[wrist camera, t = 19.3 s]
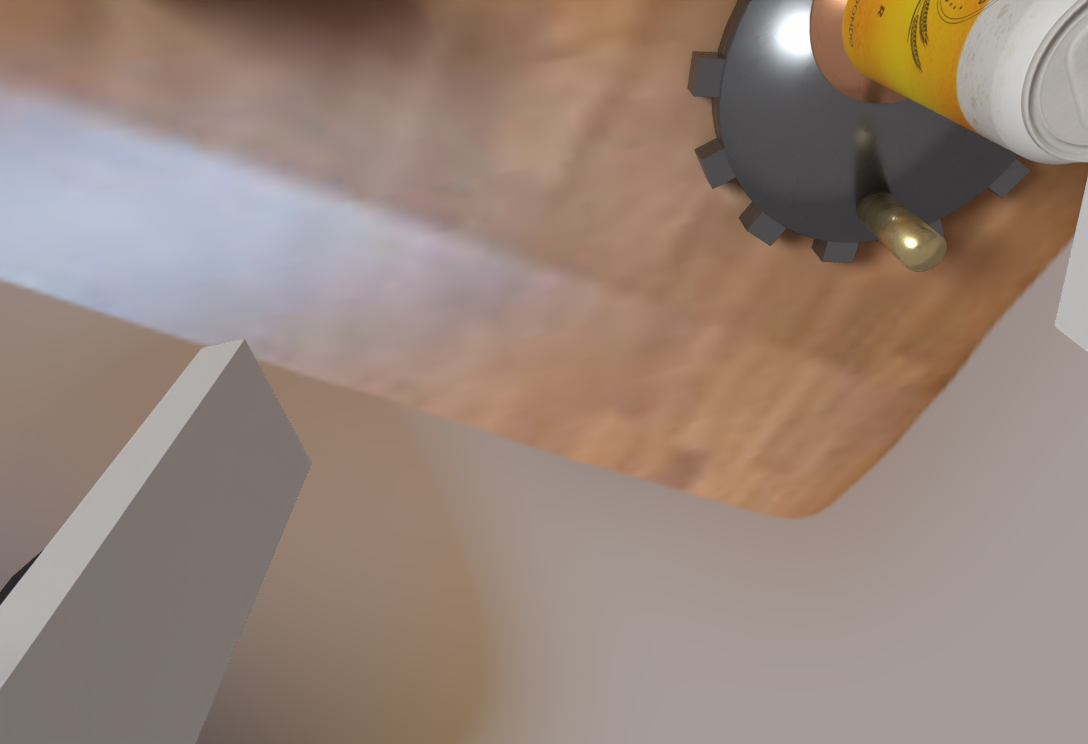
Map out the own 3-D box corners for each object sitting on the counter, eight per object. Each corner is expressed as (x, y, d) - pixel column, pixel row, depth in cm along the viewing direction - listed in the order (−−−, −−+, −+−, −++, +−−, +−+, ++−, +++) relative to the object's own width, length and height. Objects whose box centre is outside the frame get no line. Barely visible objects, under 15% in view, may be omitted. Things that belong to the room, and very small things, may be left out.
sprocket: (722, -166, 30) (772, -190, 24) (1153, -150, 31) (1330, -169, 24) (665, 242, 41) (688, 308, 35) (983, 252, 42) (1070, 319, 35)
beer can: (959, -96, 30) (1253, -103, 17) (979, 40, 33) (1242, 117, 20) (821, -22, 31) (998, 20, 19) (852, 101, 34) (1023, 207, 22)
